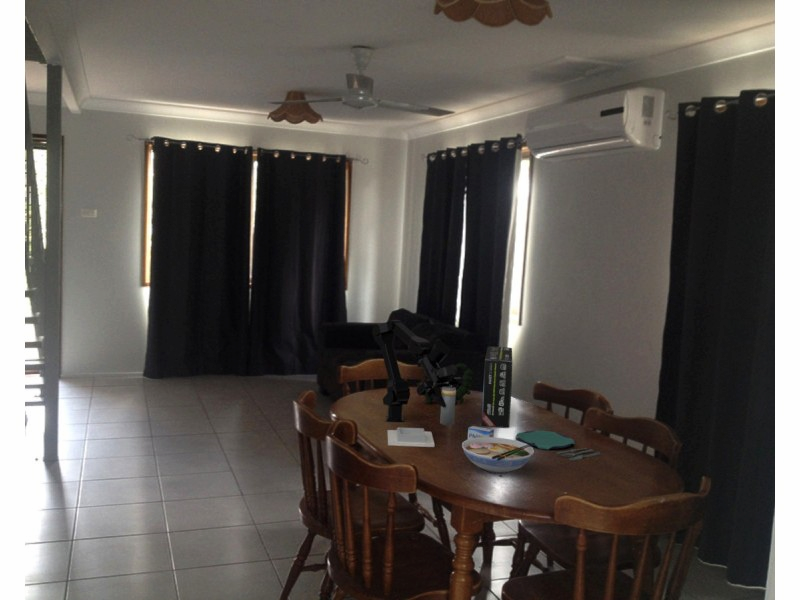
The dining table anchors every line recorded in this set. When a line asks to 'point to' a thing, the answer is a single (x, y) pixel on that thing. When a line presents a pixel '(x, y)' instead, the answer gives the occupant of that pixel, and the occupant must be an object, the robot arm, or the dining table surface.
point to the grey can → (448, 405)
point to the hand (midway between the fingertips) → (450, 406)
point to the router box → (497, 387)
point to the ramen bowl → (497, 453)
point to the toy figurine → (462, 389)
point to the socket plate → (410, 437)
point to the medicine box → (479, 432)
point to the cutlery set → (552, 442)
